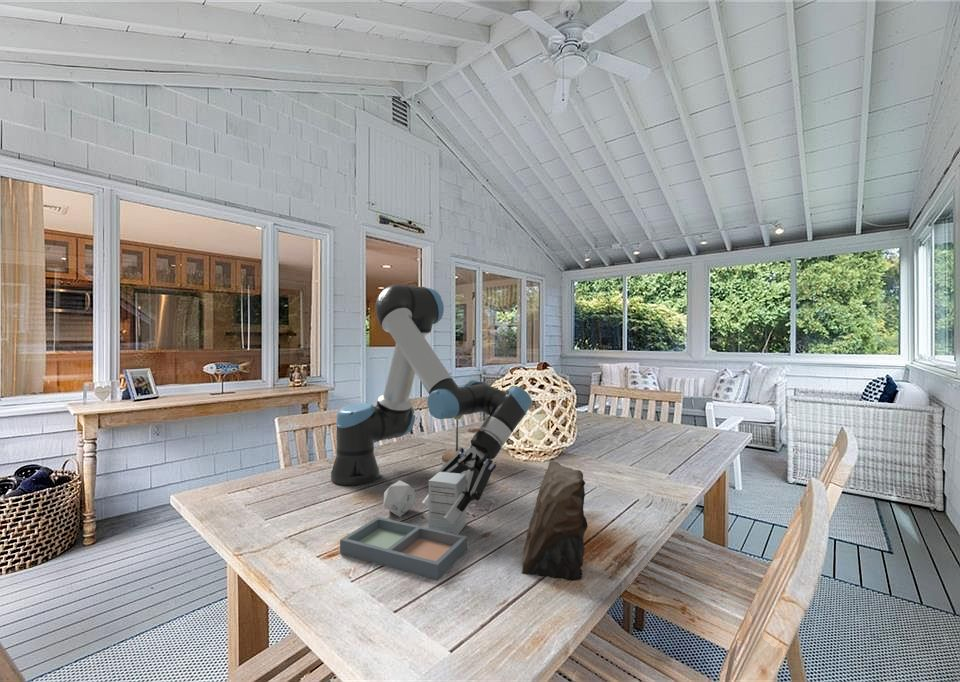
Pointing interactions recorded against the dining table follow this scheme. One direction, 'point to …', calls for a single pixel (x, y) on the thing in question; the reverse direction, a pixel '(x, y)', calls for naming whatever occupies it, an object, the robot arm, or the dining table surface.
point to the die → (399, 498)
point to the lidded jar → (447, 457)
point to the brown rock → (557, 526)
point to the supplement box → (445, 501)
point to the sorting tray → (405, 547)
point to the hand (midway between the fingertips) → (436, 513)
